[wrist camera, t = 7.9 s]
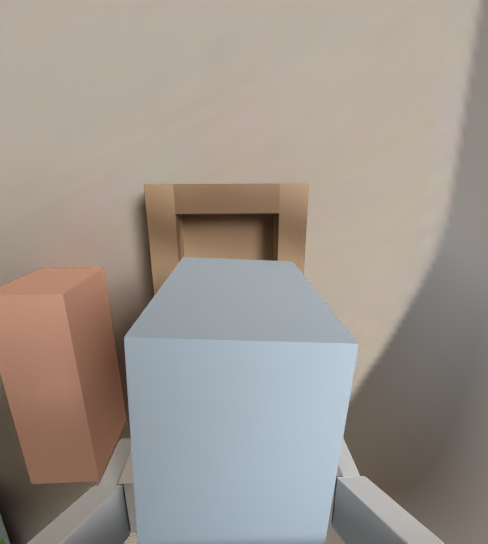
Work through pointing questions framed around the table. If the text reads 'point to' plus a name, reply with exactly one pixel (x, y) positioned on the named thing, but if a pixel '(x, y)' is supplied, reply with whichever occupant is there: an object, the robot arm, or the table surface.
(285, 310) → the pale blue upright slab
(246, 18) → the table surface
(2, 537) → the lunch box
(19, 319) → the salmon orange rectangular block
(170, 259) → the jig
